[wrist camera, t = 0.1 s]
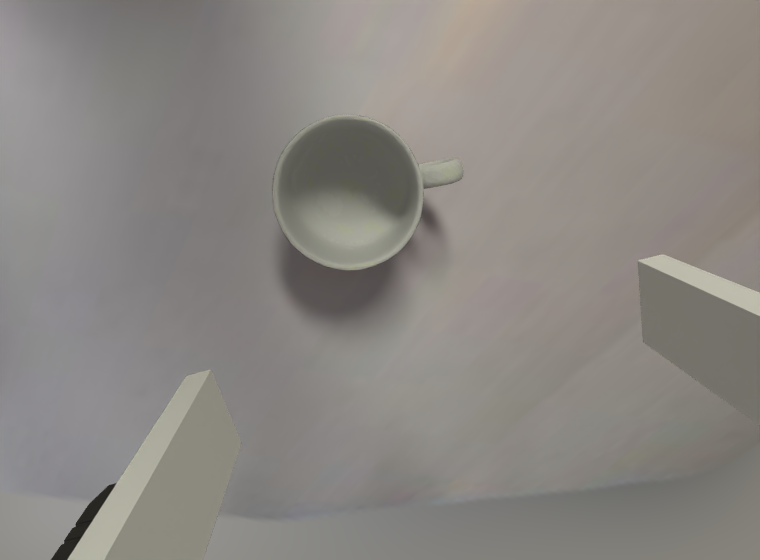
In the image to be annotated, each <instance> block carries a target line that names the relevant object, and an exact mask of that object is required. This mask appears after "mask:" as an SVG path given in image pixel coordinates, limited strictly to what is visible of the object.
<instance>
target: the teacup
mask: <svg viewBox="0 0 760 560" xmlns="http://www.w3.org/2000/svg"><path fill="white" fill-rule="evenodd" d="M463 172H464V170H463V166H462V163H461V161H460V160H459V159H458V158H450V159H444V160H437V161H433V162H427V163H423V164H418V163H417V161H416V159H415V157H414V155H413V153H412V151H411V150H410V148H409V147H408V145H407V144H406V143H405V142H404V140H403V139H402V138H401V137H400V136H399V135H398V134H397V133H396V132H394V131H393V130H392V129H390V128H389V127H388V126H386V125H384V124H383V123H380V122H378V121H376V120H373V119H371V118H367V117H364V116H356V115H336V116H330V117H326V118H323V119H321V120H318V121H316V122H314V123H312V124H310V125H308V126H307V127H305V128H304V129H302V130H301V131H300V132H299V133H298V134H297V135H295V136H294V137H293V139H292V140H291V141H290V142H289V143H288V145H287V146H286V148H285V149H284V150H283V152H282V154H281V156H280V158H279V160H278V163H277V166H276V169H275V173H274V177H273V189H272V195H273V206H274V211H275V215H276V217H277V220H278V223H279V225H280V227H281V229H282V231H283V233H284V235H285V236H286V237H287V239H288V240H289V242H290V243H291V244H292V245H293V246H294V247H295V248H296V249H297V250H298V251H300V252H301V253H302V254H303V255H305V256H306V257H307V258H309V259H311V260H313V261H314V262H316V263H318V264H321V265H323V266H326V267H329V268H333V269H339V270H350V271H352V270H361V269H367V268H370V267H374V266H376V265H377V264H381V263H383V262H385V261H387V260H388V259H390V258H392V257H393V256H394V255H396V254H397V253H398V252H399V251H400V250H401V249H402V248H403V247H404V246H405V245H406V243H407V242H408V241H409V240H410V239H411V237H412V236H413V234H414V232H415V230H416V228H417V226H418V224H419V221H420V218H421V214H422V209H423V196H424V191H423V189H425V188H432V187H437V186H442V185H447V184H451V183H454V182H457V181H459V180H461V179H462V177H463Z"/></svg>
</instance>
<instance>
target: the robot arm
mask: <svg viewBox="0 0 760 560" xmlns="http://www.w3.org/2000/svg"><path fill="white" fill-rule="evenodd" d="M638 275H639V290H640V306H641V321H642V336H643V342H644V343H645V344H646V345H648V346H649V347H651V348H652V349H653V350H655V351H656V352H658V353H659V354H660V355H662V356H663V357H665V358H666V359H667V360H669V361H670V362H671V363H673V364H674V365H676V366H677V367H678V368H680V369H681V370H683V371H684V372H685V373H687V374H688V375H690V376H691V377H692V378H694V379H695V380H696V381H698V382H699V383H701V384H702V385H703V386H705V387H706V388H708V389H709V390H710V391H712V392H713V393H715V394H716V395H717V396H719V397H720V398H722V399H723V400H724V401H726V402H727V403H728V404H730V405H731V406H733V407H734V408H735V409H737V410H738V411H740V412H741V413H742V414H744V415H745V416H747V417H748V418H749V419H751V420H752V421H753V422H755V423H756V424H758V425H759V426H760V293H759V292H756V291H754V290H751V289H749V288H746V287H744V286H741V285H739V284H736V283H734V282H731V281H729V280H726V279H724V278H721V277H719V276H716V275H714V274H711V273H709V272H706V271H704V270H701V269H699V268H696V267H693V266H691V265H688V264H686V263H683V262H681V261H678V260H676V259H673V258H671V257H668V256H666V255H663V254H662V255H658V256H654V257H650V258H646V259H642V260H638ZM241 444H242V442H241V440H240V438H239V435H238V433H237V430H236V428H235V425H234V423H233V421H232V418H231V416H230V413H229V411H228V409H227V406H226V404H225V401H224V399H223V397H222V394H221V392H220V389H219V387H218V384H217V382H216V380H215V377H214V375H213V372H212V370H207V371H203V372H199V373H195V374H191V375H187V376H186V377H185V379H184V380H183V382H182V383H181V385H180V387H179V388H178V390H177V391H176V393H175V394H174V396H173V397H172V399H171V400H170V402H169V404H168V405H167V407H166V408H165V410H164V411H163V413H162V414H161V416H160V417H159V419H158V421H157V422H156V424H155V425H154V427H153V428H152V430H151V431H150V433H149V434H148V436H147V438H146V439H145V441H144V442H143V444H142V445H141V447H140V448H139V450H138V451H137V453H136V455H135V456H134V458H133V459H132V461H131V462H130V464H129V465H128V467H127V468H126V470H125V471H124V473H123V475H122V476H121V478H120V479H119V481H118V482H117V483H116V484H112V485H109V486H108V487H107V488H106V489H105V490H103V491H102V492H101V493H100V494H99V495H98V496H97V497H96V498H95V499H94V500H93V501H92V502H91V503H90V504H89V505H88V506H87V508H86V509H85V511H84V512H83V514H82V515H81V517H80V518H79V520H78V521H77V523H76V527H74V528H72V530H71V531H70V533H69V534H68V536H67V537H66V539H65V540H64V544H62V545H61V546H60V547H59V549H58V550H57V552H56V553H55V555H54V556H53V558H52V559H51V560H203V558H204V556H205V552H206V550H207V546H208V544H209V541H210V538H211V535H212V532H213V529H214V526H215V523H216V519H217V517H218V514H219V511H220V508H221V505H222V502H223V499H224V496H225V492H226V489H227V486H228V483H229V480H230V477H231V474H232V471H233V468H234V465H235V462H236V459H237V456H238V453H239V450H240V447H241Z"/></svg>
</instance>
